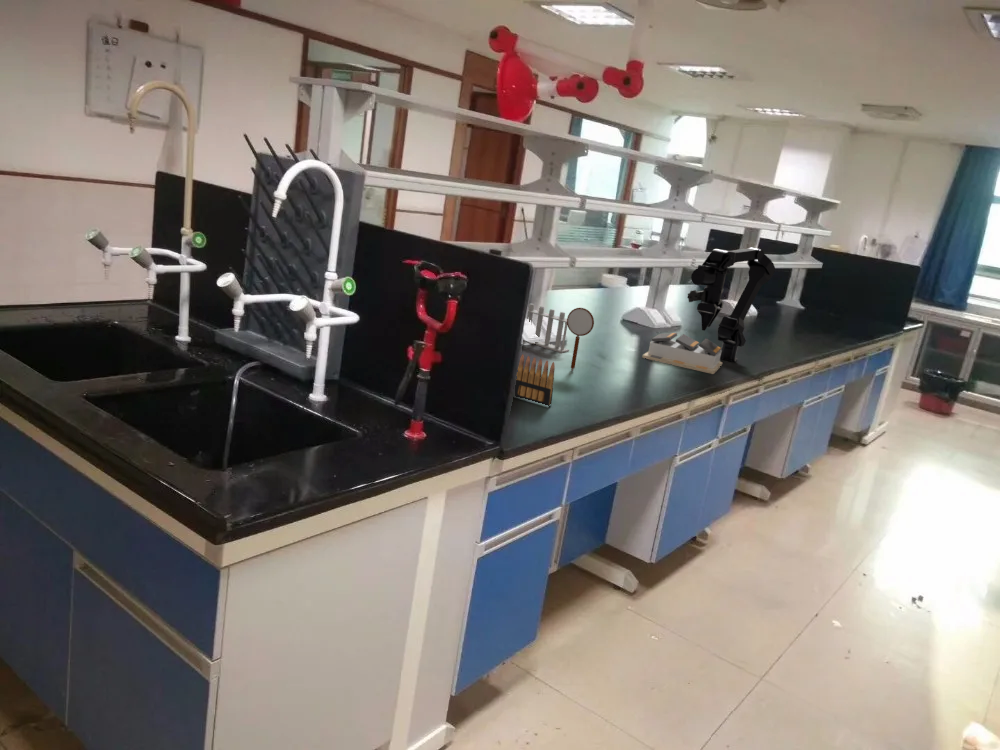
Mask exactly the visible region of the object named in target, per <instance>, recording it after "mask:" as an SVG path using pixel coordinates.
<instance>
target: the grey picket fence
mask: <svg viewBox="0 0 1000 750" xmlns="http://www.w3.org/2000/svg"><path fill="white" fill-rule="evenodd" d="M528 308H529V310H528V312H527V316H528V317H529V322H530V320H531V324H532V322H533V315H537V320H536V327H535V331H534V332H535V333H534V335H535V334H536V335H537V336H538V337H540V338H541V332H542V325H543V318H544V317H545V318H547V324H546V330H545V338H544V341H542V342H535V344H536V345H535V346H538V347H541V348H545V349H547V350H551V351H554V352H557V353H560V354H563V353H569V352H570V349H567V348H565V342H566V335H567V330H568V325H567V318H566V313H565V312H564V311H560V312H559V316H557V315H555V312H556V310H555V309H553V308H552V309H551V308H550V309H549V310H548V312H549V313H547V312H545V307H544V306H539V307H538V310H536V309H534V308H535V304H534V303H529V305H528ZM528 317H527V318H526V320H527V319H528ZM554 320H556V321H558V322H557V323H558V324H557V331H556V336H555V343H554V344H552V343H551V344H550V342H551V335H552V329H553V323H554ZM563 329H564V330H563ZM562 335H563V336H562ZM561 341H562V343H561Z"/></svg>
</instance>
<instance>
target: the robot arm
mask: <svg viewBox="0 0 1000 750" xmlns="http://www.w3.org/2000/svg"><path fill="white" fill-rule="evenodd" d="M741 262H742V263H743V262H747V264H746V265H748V267H749V269H748V272H747V273H748V274H747V275H748V281H747V282H746V285H745V287H744V288H743V290H742V293H741V294H740V297H739V298H738V300H737V302H736V304H735V306H734V308H733V310H732V312H731V314H730V315H728V316H726V315H725V316H722V319H721V321H720V323H719V324H718V328H717V341H719V342H720V341H721V342H722V344H721V347H720V348H721V351H722V352H721V356H720V360H724V361H728V362H732V363H735V362H736V361H737V360H738V357H737V353H738V348H739V347H743V346H744V345H745V344H746V342H747V340H746V338H745V336H744V334H743V333H744V331H745V319H746V317H747V315H748V312H749V311H750V309H751V307H752V305H753V303H754V301H755V299H756V297H757V296H758V294H759V291H760V290H761V287H762V286H763V285H765V284H766V283H768V282H769V281H770V280H771V278H772V277H773V276H774V274H775V271H776V267H775V264H774V262H773V261H772V259H770V257H768V256H767V255H766V254H765V252H764V251H763V250H762V249H761V248H756V247H748V248H742V249H741V248H740V249H735V250H734V249H733V250H726V249H720V248H714V249H711V252H710V253H709V254H708V256H707V257H706V259H705V260H704V262H703V263H702V264H698V265H697V268H695V269H694V270H693V271H692V273H691V278H690V279H691V282H692V284H693V285H696V286H705V287H704V288H703V290H698V291H697V289H695V290H690V292H689V293H687V299H688V303H693V302H698V301H700V302H699V303H698V304H697V308H696V310H697V312H698V313H699V314H700V315H701V318H700V320H701V330H702V331H704V332H705V331H707V328H710V327H711V326H712V325H713V323H714V322H715V319H716V318H717V317H718V316H719V314H720V312H721V311H722V309H723V308H724V304H725V302H724V300H722V299H721V298H722V295H723V293H724V285H725V282H726V281H725V280H726V275H730V274H731V271H730V269H728V268H730V267H733V266H734V265H735V264H736V263H741Z"/></svg>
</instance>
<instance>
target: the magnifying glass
mask: <svg viewBox="0 0 1000 750" xmlns="http://www.w3.org/2000/svg"><path fill="white" fill-rule="evenodd" d="M566 319H567V329H569V331H570V332H571V333H572V334H573V335H575V340H574V346H573V351H572V359H571V365H570V371H571V372H573V371H574V369H575V368H576V362H577V357H578V356H577V355H578V351H579V344H580V338H581V337H583V336H587V335H588V334H590V333H591V332H592V330H593V328H594V325H595V318H594V316H593V314H592V313H591V312H590V311H589V309H586V308H585V307H576V308H574V309H572V310H571V311H570V312H569V313H568V315H567V318H566Z"/></svg>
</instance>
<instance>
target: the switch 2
mask: <svg viewBox="0 0 1000 750" xmlns="http://www.w3.org/2000/svg"><path fill="white" fill-rule="evenodd" d="M698 346H700V347H701V348H703V349H704V350H706V351H707V352H709V353H710V354H712V355H713V356H715V355H716V354H717V353H718V352H719V351H720V350H721V348H722V347H720V346H718V344H716V343H714V342H713V341H711V340H709V339H708V338H705V339H704V340H702V341H701V342H699V344H698Z"/></svg>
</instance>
